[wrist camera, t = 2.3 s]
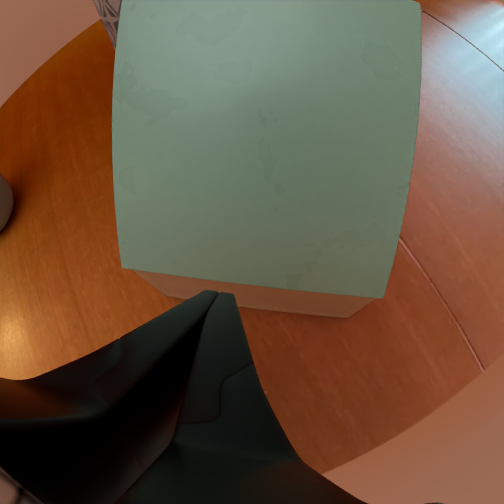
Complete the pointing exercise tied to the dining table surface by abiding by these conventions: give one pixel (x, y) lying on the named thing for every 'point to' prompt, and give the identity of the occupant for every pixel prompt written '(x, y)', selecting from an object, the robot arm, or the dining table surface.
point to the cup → (5, 201)
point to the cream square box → (260, 295)
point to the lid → (265, 139)
